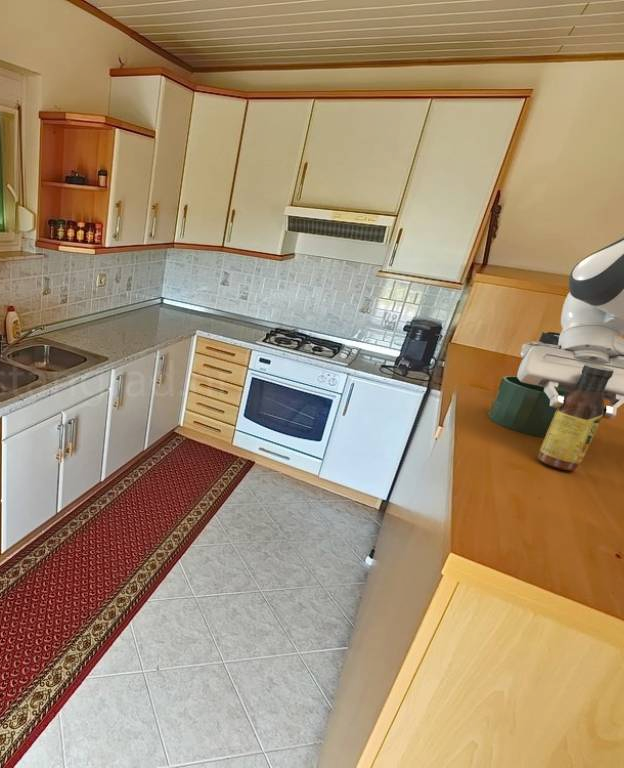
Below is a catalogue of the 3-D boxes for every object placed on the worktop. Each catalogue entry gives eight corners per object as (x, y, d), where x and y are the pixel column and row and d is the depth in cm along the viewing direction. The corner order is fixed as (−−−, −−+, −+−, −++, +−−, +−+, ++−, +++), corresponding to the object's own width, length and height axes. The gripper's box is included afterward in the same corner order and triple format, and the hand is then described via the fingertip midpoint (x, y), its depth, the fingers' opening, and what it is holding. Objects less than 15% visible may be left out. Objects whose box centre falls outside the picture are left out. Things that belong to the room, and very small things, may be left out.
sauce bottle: (580, 476, 91) (630, 376, 84) (539, 464, 94) (583, 367, 87) (572, 463, 96) (617, 368, 90) (532, 452, 99) (574, 360, 93)
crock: (548, 424, 119) (566, 385, 115) (564, 443, 108) (584, 401, 104) (483, 408, 124) (498, 372, 121) (492, 425, 113) (509, 385, 110)
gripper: (529, 331, 97) (520, 389, 93) (668, 354, 89) (666, 419, 84) (516, 348, 103) (507, 404, 98) (646, 371, 94) (643, 434, 89)
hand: (582, 411), depth 91 cm, fingers closed on sauce bottle, 6 cm apart
